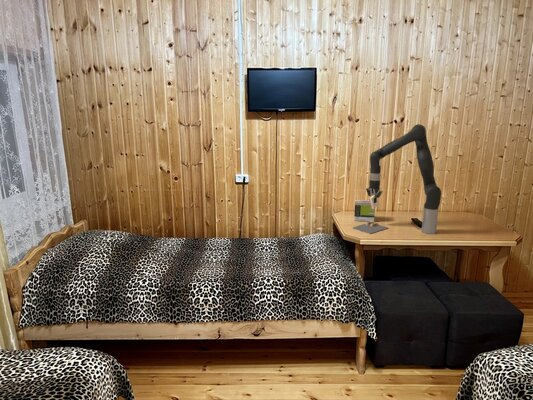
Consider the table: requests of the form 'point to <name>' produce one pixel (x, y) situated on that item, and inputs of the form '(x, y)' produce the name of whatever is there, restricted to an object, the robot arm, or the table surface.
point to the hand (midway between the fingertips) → (373, 202)
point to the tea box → (363, 211)
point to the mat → (370, 228)
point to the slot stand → (371, 223)
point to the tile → (373, 202)
